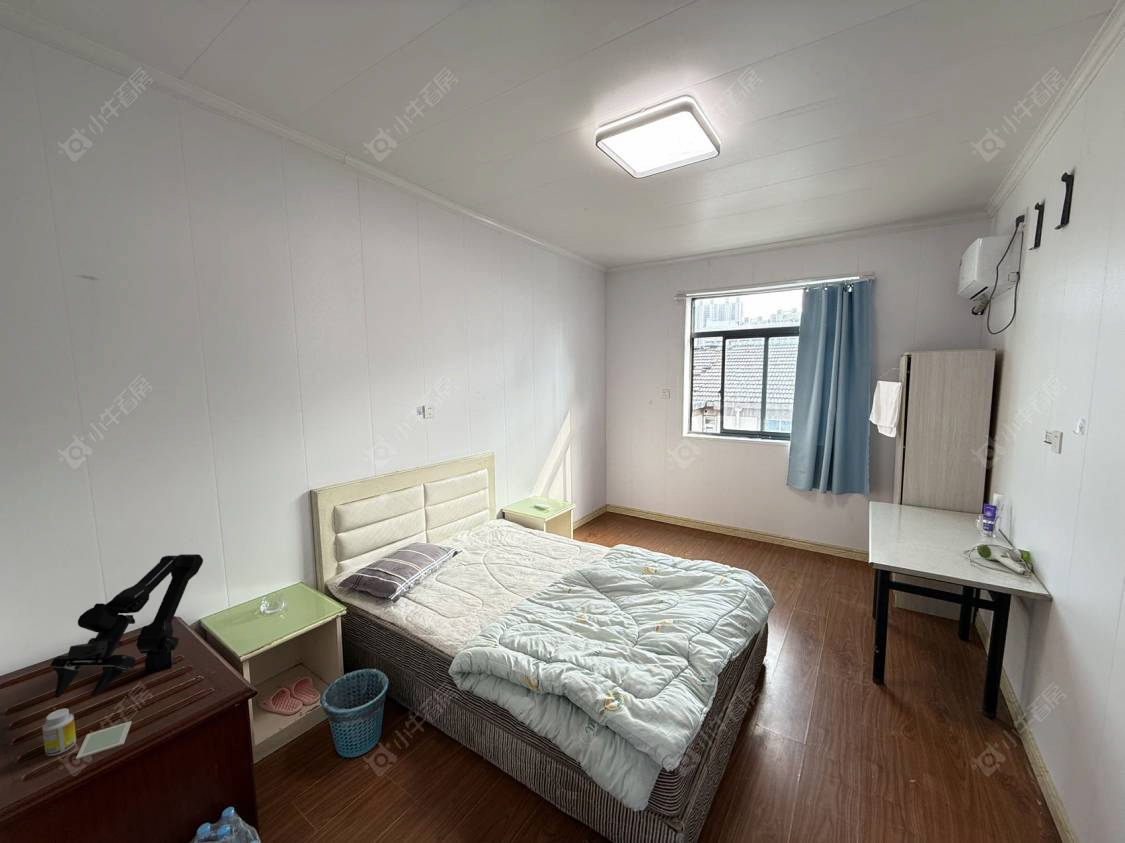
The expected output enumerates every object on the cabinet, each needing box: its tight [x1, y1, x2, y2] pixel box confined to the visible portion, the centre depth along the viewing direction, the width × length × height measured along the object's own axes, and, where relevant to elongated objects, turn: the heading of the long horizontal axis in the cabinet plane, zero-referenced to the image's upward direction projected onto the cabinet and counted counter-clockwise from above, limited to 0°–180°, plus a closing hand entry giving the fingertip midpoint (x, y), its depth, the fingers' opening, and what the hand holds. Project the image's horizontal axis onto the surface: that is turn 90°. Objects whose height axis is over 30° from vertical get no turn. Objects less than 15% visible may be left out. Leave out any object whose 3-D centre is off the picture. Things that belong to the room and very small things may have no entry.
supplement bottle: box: [42, 707, 77, 757], centre depth 117 cm, size 6×6×10 cm
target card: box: [75, 720, 132, 760], centre depth 121 cm, size 9×9×1 cm
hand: (74, 697), depth 121 cm, fingers open, 9 cm apart
